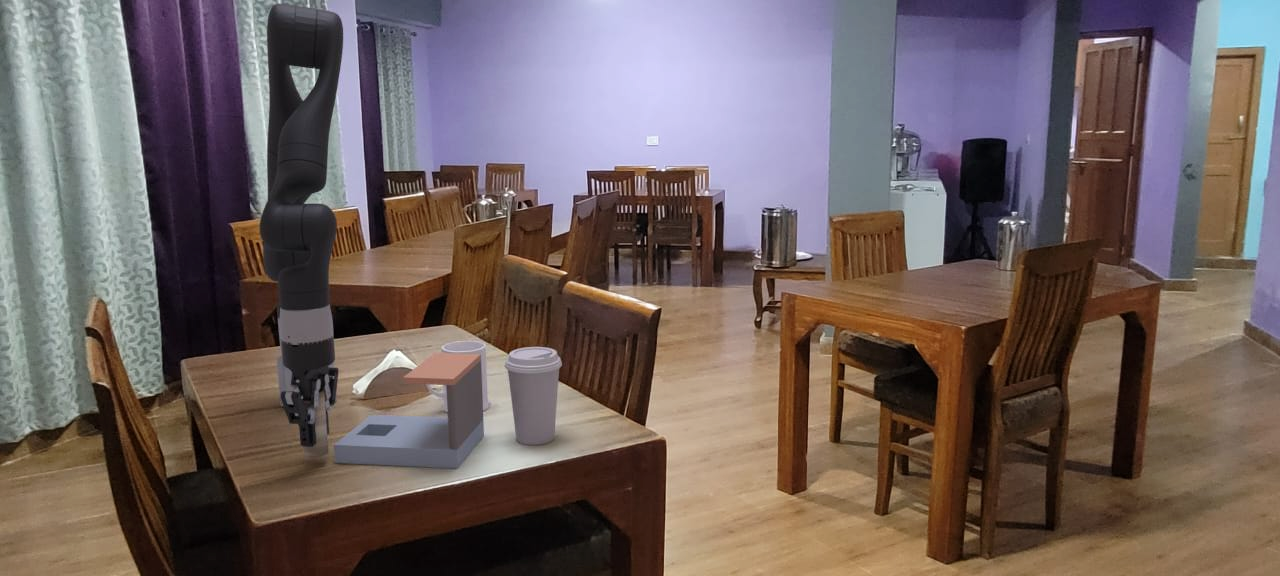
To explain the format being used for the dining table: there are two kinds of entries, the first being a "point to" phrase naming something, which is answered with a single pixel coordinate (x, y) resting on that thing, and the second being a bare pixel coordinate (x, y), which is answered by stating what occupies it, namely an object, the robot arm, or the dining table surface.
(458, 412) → the socket board
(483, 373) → the mug
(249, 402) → the dining table surface
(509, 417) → the dining table surface
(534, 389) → the coffee cup
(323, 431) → the peg
